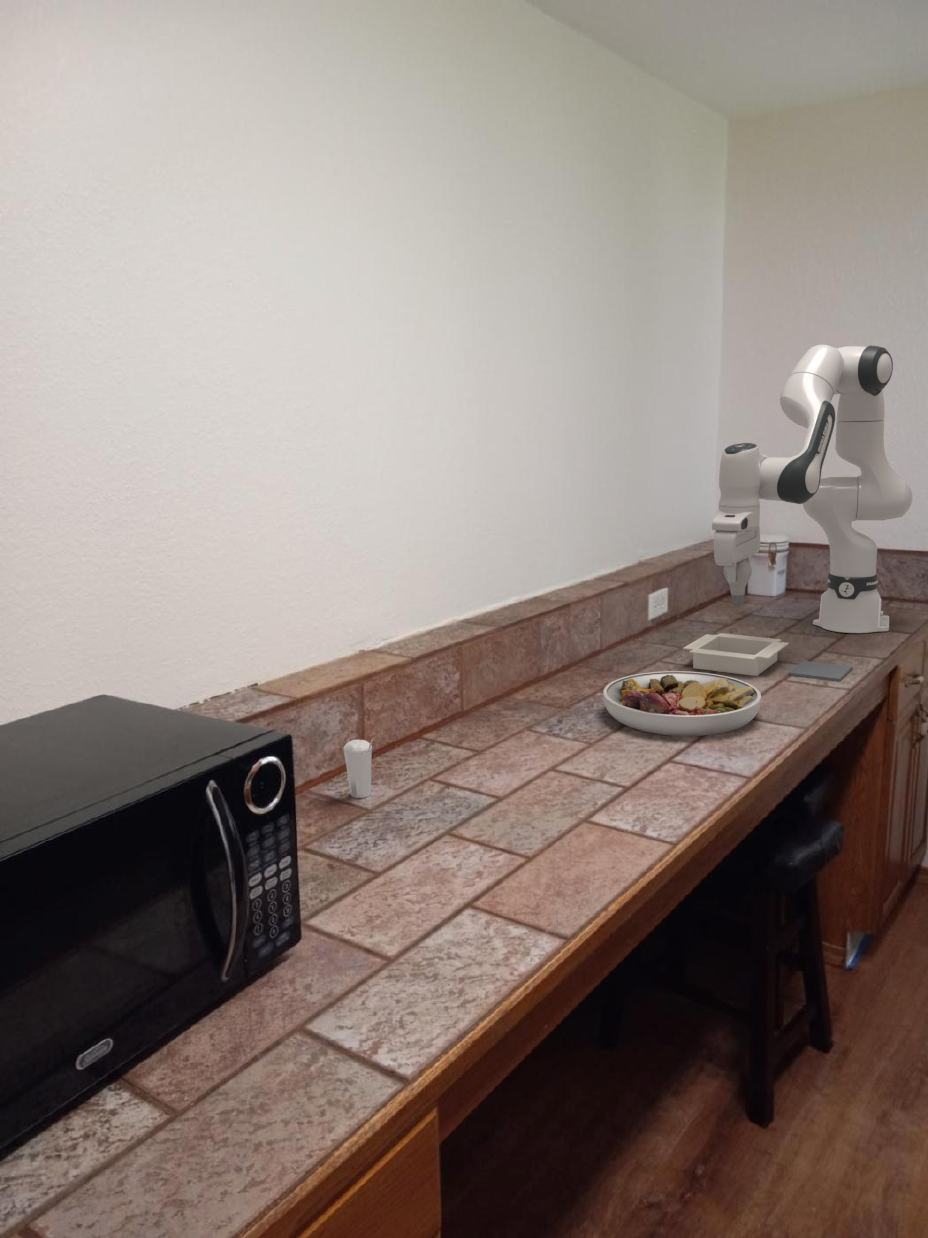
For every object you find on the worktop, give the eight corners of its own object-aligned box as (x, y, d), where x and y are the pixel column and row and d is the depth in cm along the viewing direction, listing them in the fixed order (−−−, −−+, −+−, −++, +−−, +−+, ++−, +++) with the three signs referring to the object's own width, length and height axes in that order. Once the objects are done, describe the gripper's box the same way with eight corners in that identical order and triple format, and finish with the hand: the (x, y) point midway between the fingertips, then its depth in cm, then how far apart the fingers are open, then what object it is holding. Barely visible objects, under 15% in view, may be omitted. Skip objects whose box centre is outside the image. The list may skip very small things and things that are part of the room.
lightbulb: (749, 602, 227) (749, 555, 225) (753, 607, 221) (753, 559, 219) (722, 603, 228) (721, 556, 226) (726, 608, 222) (725, 560, 220)
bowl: (643, 686, 214) (643, 651, 213) (781, 707, 197) (783, 668, 196) (575, 725, 191) (575, 686, 189) (726, 753, 174) (727, 710, 172)
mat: (802, 663, 226) (802, 660, 226) (852, 669, 220) (852, 666, 220) (787, 675, 218) (788, 672, 217) (839, 681, 211) (840, 678, 211)
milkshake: (367, 803, 157) (363, 743, 155) (340, 797, 160) (336, 738, 158) (384, 793, 161) (380, 734, 159) (358, 787, 164) (354, 729, 161)
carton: (709, 650, 241) (710, 632, 240) (791, 659, 230) (791, 640, 229) (678, 669, 225) (678, 650, 224) (764, 680, 214) (764, 660, 213)
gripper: (740, 511, 230) (739, 570, 233) (708, 523, 214) (707, 586, 217) (767, 512, 227) (766, 571, 230) (737, 524, 210) (736, 588, 214)
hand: (737, 579), depth 223 cm, fingers closed on lightbulb, 6 cm apart
